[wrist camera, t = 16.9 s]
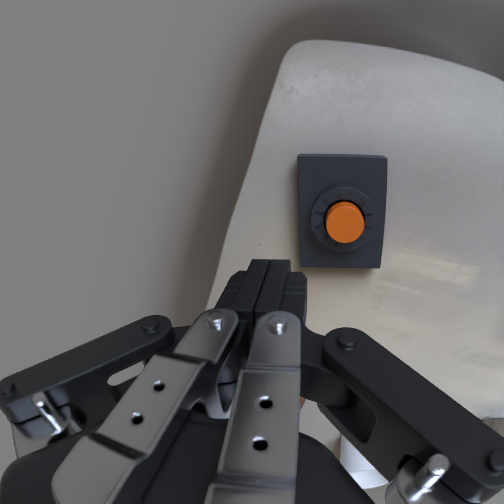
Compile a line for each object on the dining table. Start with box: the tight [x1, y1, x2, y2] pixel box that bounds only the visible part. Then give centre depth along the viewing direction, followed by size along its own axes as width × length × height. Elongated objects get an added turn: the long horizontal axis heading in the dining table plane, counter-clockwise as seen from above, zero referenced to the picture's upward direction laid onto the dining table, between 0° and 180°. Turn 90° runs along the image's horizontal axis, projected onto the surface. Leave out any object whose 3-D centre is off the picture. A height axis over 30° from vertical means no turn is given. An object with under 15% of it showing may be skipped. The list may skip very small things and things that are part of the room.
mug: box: [340, 435, 388, 489], centre depth 43 cm, size 13×10×10 cm
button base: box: [298, 154, 387, 268], centre depth 30 cm, size 12×9×4 cm
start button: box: [326, 202, 364, 243], centre depth 28 cm, size 4×4×2 cm
